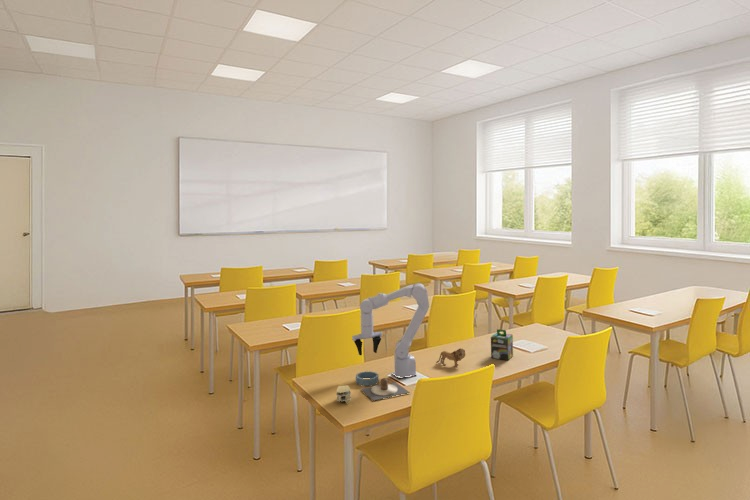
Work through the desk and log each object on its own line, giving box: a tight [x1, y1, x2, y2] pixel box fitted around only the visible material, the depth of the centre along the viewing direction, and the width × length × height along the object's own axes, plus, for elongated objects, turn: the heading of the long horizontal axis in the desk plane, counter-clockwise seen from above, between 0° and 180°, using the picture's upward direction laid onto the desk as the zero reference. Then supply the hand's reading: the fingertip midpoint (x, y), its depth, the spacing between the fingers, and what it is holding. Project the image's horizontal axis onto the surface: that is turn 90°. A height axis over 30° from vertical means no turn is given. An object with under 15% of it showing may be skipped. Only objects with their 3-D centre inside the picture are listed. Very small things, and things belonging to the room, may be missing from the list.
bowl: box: [355, 370, 380, 387], centre depth 206 cm, size 10×10×3 cm
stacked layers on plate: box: [336, 384, 352, 404], centre depth 186 cm, size 10×9×6 cm
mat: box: [360, 382, 411, 402], centre depth 194 cm, size 17×13×1 cm
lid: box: [371, 377, 398, 396], centre depth 194 cm, size 11×11×5 cm
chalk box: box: [490, 328, 514, 361], centre depth 236 cm, size 9×9×15 cm
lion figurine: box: [435, 347, 466, 368], centre depth 226 cm, size 15×5×9 cm, turn 68°
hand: (367, 353), depth 214 cm, fingers open, 7 cm apart
